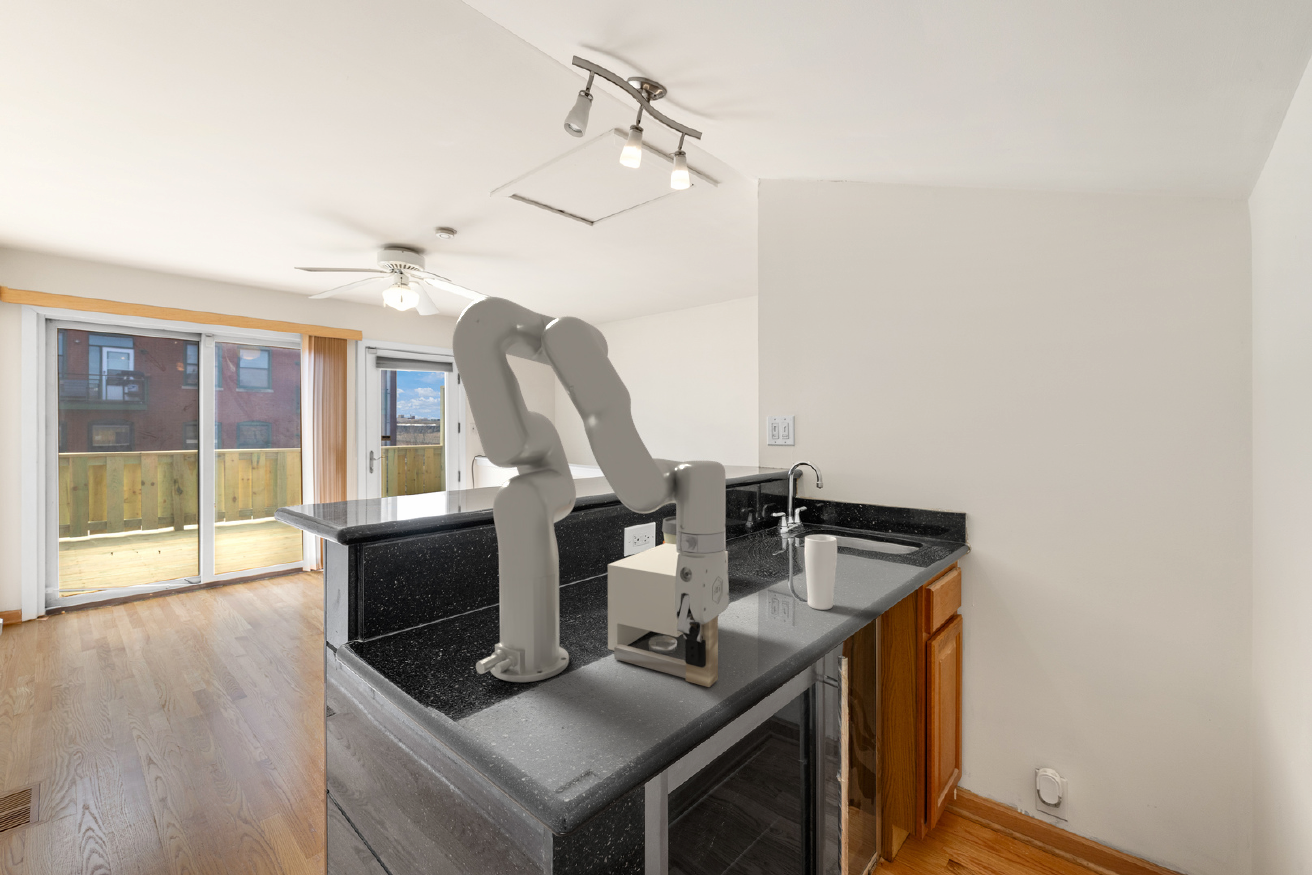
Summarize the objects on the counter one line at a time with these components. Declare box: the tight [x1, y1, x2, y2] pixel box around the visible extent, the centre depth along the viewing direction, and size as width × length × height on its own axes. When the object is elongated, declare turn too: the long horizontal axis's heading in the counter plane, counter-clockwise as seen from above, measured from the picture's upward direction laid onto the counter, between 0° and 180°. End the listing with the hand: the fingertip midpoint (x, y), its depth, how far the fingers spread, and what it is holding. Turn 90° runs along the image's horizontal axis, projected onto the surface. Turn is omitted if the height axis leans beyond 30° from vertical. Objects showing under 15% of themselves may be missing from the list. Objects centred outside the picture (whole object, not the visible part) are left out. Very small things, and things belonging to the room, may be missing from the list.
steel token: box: [648, 635, 678, 655], centre depth 98 cm, size 5×5×2 cm
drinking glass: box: [804, 534, 838, 611], centre depth 119 cm, size 7×7×15 cm
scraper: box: [613, 615, 719, 688], centre depth 88 cm, size 3×18×11 cm, turn 58°
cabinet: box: [607, 543, 729, 651], centre depth 102 cm, size 20×14×15 cm
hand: (701, 659), depth 85 cm, fingers closed on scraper, 3 cm apart
